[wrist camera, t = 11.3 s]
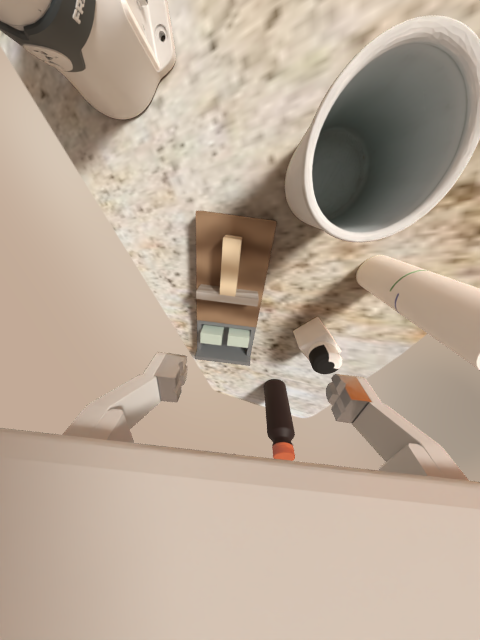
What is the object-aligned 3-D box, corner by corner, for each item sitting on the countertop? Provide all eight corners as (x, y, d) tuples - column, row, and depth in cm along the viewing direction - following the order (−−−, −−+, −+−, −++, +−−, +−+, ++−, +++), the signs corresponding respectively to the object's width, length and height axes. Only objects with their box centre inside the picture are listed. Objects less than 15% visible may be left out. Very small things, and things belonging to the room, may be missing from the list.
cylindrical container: (353, 289, 41) (462, 376, 20) (360, 256, 38) (502, 320, 16) (387, 286, 40) (539, 373, 19) (397, 252, 37) (599, 314, 16)
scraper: (201, 231, 33) (195, 234, 30) (267, 240, 33) (269, 243, 30) (200, 290, 39) (196, 298, 36) (256, 298, 39) (257, 306, 36)
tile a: (200, 332, 42) (200, 342, 44) (221, 335, 43) (221, 345, 44) (205, 321, 47) (204, 330, 48) (224, 323, 47) (223, 333, 48)
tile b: (228, 335, 42) (227, 345, 44) (249, 338, 43) (247, 347, 44) (230, 323, 47) (229, 333, 48) (249, 326, 47) (248, 335, 48)
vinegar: (284, 392, 61) (297, 465, 44) (263, 392, 61) (268, 463, 44) (286, 378, 57) (301, 451, 40) (264, 378, 58) (269, 450, 41)
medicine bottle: (306, 347, 50) (320, 382, 40) (292, 330, 48) (303, 363, 38) (330, 334, 48) (352, 368, 38) (317, 315, 45) (337, 347, 35)
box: (200, 312, 46) (194, 325, 41) (255, 319, 47) (256, 333, 42) (200, 344, 52) (194, 359, 47) (249, 350, 52) (249, 365, 47)
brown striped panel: (201, 210, 35) (195, 210, 31) (274, 220, 35) (276, 222, 32) (200, 311, 46) (196, 319, 43) (255, 318, 46) (256, 327, 43)
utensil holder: (268, 217, 35) (281, 223, 20) (299, 104, 27) (358, -23, 12) (341, 236, 36) (405, 257, 21) (390, 134, 28) (548, 50, 13)
